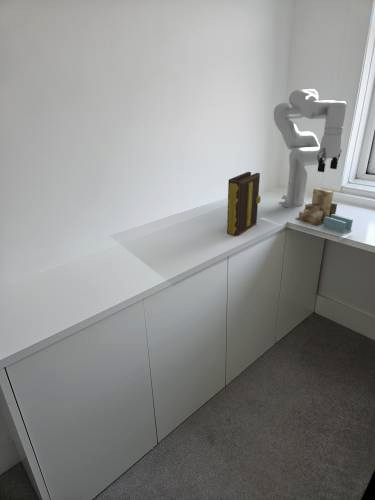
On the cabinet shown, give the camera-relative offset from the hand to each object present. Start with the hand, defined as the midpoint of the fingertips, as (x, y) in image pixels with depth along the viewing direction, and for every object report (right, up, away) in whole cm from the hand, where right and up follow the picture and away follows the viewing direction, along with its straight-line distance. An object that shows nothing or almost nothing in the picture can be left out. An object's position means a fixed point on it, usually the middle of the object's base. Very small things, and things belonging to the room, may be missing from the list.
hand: (327, 170), depth 152 cm
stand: (+3, -28, -2) cm, 29 cm away
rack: (-3, -23, +9) cm, 25 cm away
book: (-39, -27, +4) cm, 47 cm away
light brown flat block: (+1, -21, +11) cm, 24 cm away
